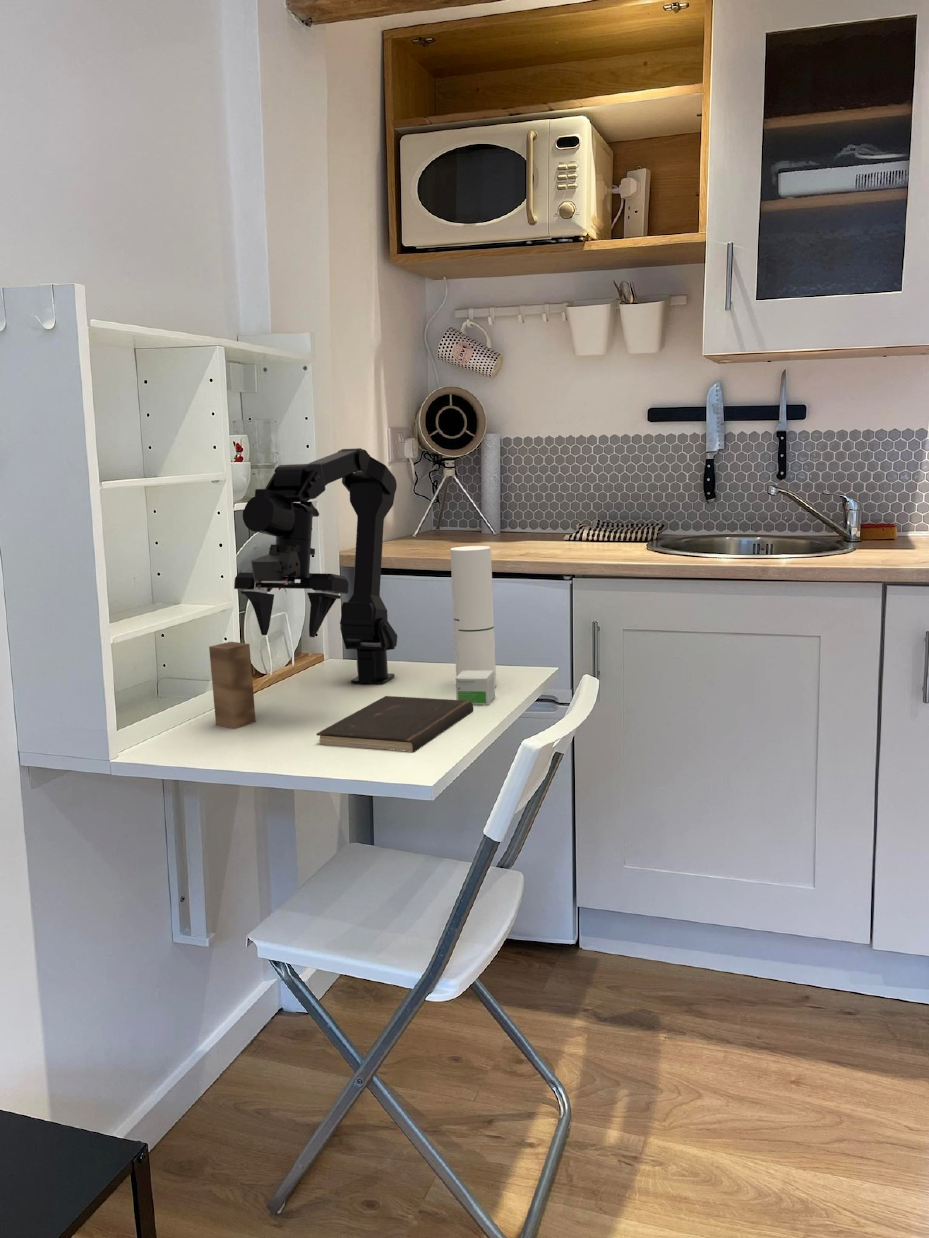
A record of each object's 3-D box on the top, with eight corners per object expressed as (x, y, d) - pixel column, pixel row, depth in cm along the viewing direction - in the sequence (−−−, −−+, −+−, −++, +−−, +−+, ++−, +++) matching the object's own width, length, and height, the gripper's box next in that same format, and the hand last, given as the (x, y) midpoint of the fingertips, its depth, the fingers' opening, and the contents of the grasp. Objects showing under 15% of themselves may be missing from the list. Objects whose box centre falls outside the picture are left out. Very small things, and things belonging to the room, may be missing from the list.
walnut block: (237, 718, 170) (230, 641, 168) (255, 721, 168) (249, 643, 165) (215, 724, 167) (209, 646, 165) (234, 728, 164) (227, 649, 162)
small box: (456, 705, 173) (454, 677, 172) (463, 697, 178) (462, 669, 177) (489, 706, 171) (488, 677, 170) (495, 697, 177) (494, 669, 176)
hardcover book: (317, 748, 154) (316, 733, 153) (386, 708, 174) (385, 695, 174) (414, 755, 147) (413, 740, 147) (473, 714, 168) (473, 700, 168)
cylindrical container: (482, 679, 190) (477, 545, 185) (503, 686, 184) (498, 547, 179) (449, 685, 186) (442, 548, 182) (469, 693, 180) (463, 551, 176)
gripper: (216, 534, 164) (210, 631, 163) (315, 533, 156) (309, 635, 156) (257, 543, 174) (251, 635, 173) (352, 543, 167) (347, 639, 166)
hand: (287, 636), depth 167 cm, fingers open, 9 cm apart
